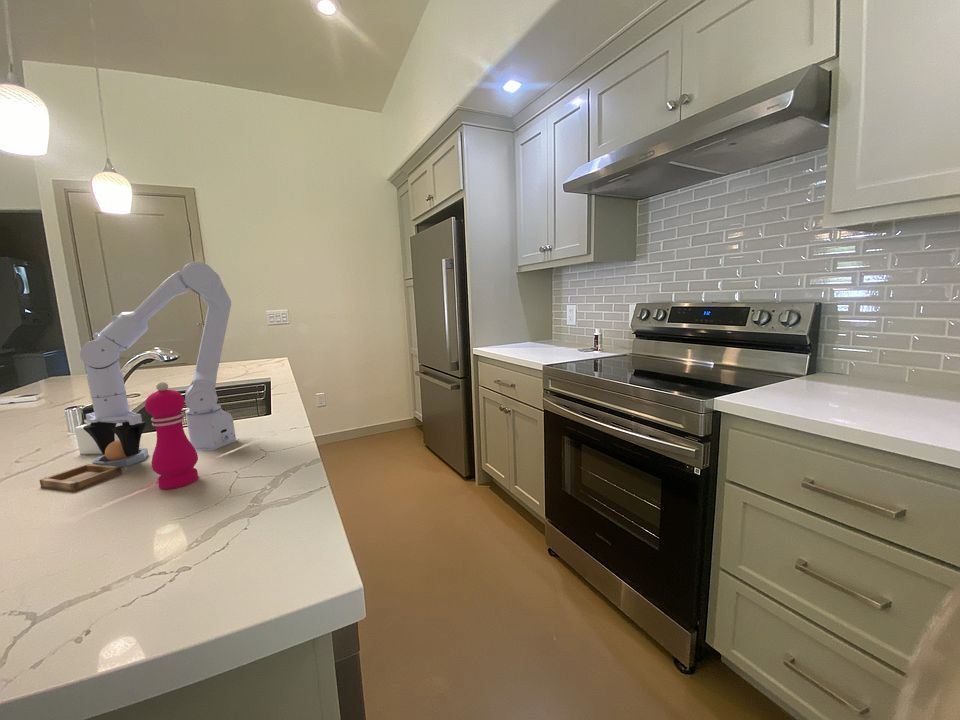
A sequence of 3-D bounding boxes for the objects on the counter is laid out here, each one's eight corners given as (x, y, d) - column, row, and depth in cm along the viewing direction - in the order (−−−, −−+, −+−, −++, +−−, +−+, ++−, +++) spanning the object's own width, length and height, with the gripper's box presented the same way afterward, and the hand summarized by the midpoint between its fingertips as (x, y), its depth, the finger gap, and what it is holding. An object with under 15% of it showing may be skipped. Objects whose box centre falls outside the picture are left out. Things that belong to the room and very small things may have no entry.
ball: (141, 458, 94) (137, 437, 93) (117, 466, 89) (112, 444, 88) (126, 456, 95) (122, 435, 94) (101, 465, 90) (97, 443, 90)
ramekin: (156, 457, 95) (155, 449, 95) (113, 473, 87) (111, 464, 86) (130, 455, 98) (128, 447, 97) (85, 470, 89) (84, 461, 89)
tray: (122, 475, 85) (120, 466, 85) (75, 494, 78) (72, 484, 77) (90, 472, 88) (88, 463, 88) (41, 489, 81) (39, 479, 80)
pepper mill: (177, 491, 76) (158, 386, 73) (145, 490, 78) (126, 386, 75) (210, 475, 83) (194, 378, 80) (180, 473, 85) (163, 378, 82)
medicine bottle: (133, 444, 105) (125, 399, 104) (106, 455, 98) (96, 406, 97) (108, 445, 106) (99, 400, 104) (79, 455, 99) (69, 407, 97)
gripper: (64, 398, 88) (77, 458, 90) (110, 400, 84) (123, 463, 86) (102, 390, 95) (113, 447, 97) (147, 391, 90) (157, 450, 93)
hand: (120, 453), depth 92 cm, fingers open, 7 cm apart
